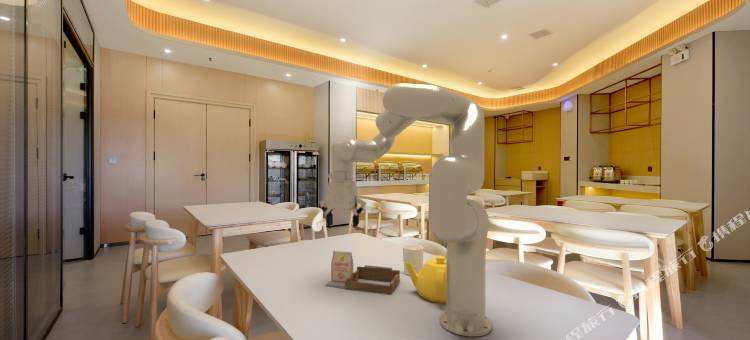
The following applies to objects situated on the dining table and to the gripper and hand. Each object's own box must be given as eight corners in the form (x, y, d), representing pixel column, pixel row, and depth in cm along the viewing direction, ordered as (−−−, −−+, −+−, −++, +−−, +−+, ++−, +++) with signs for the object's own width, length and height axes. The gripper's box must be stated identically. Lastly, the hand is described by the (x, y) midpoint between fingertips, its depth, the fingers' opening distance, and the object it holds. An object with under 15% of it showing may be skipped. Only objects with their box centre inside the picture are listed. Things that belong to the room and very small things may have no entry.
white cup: (424, 276, 116) (424, 249, 116) (403, 276, 116) (403, 249, 116) (422, 269, 124) (422, 244, 124) (402, 269, 124) (402, 244, 124)
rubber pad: (345, 288, 104) (345, 286, 104) (325, 286, 106) (325, 284, 106) (356, 277, 115) (356, 276, 115) (339, 275, 117) (339, 274, 117)
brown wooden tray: (391, 294, 99) (391, 280, 99) (345, 289, 104) (345, 275, 104) (399, 281, 111) (399, 268, 111) (358, 277, 115) (358, 264, 116)
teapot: (440, 310, 88) (440, 267, 88) (402, 291, 102) (402, 254, 102) (479, 297, 97) (479, 258, 97) (439, 281, 111) (439, 247, 111)
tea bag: (335, 277, 113) (335, 249, 113) (353, 279, 111) (353, 251, 111) (331, 281, 110) (331, 252, 110) (349, 283, 108) (349, 253, 108)
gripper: (314, 177, 110) (315, 226, 109) (361, 177, 105) (362, 228, 104) (324, 176, 117) (324, 223, 117) (369, 176, 112) (369, 225, 112)
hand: (342, 225), depth 110 cm, fingers open, 9 cm apart
